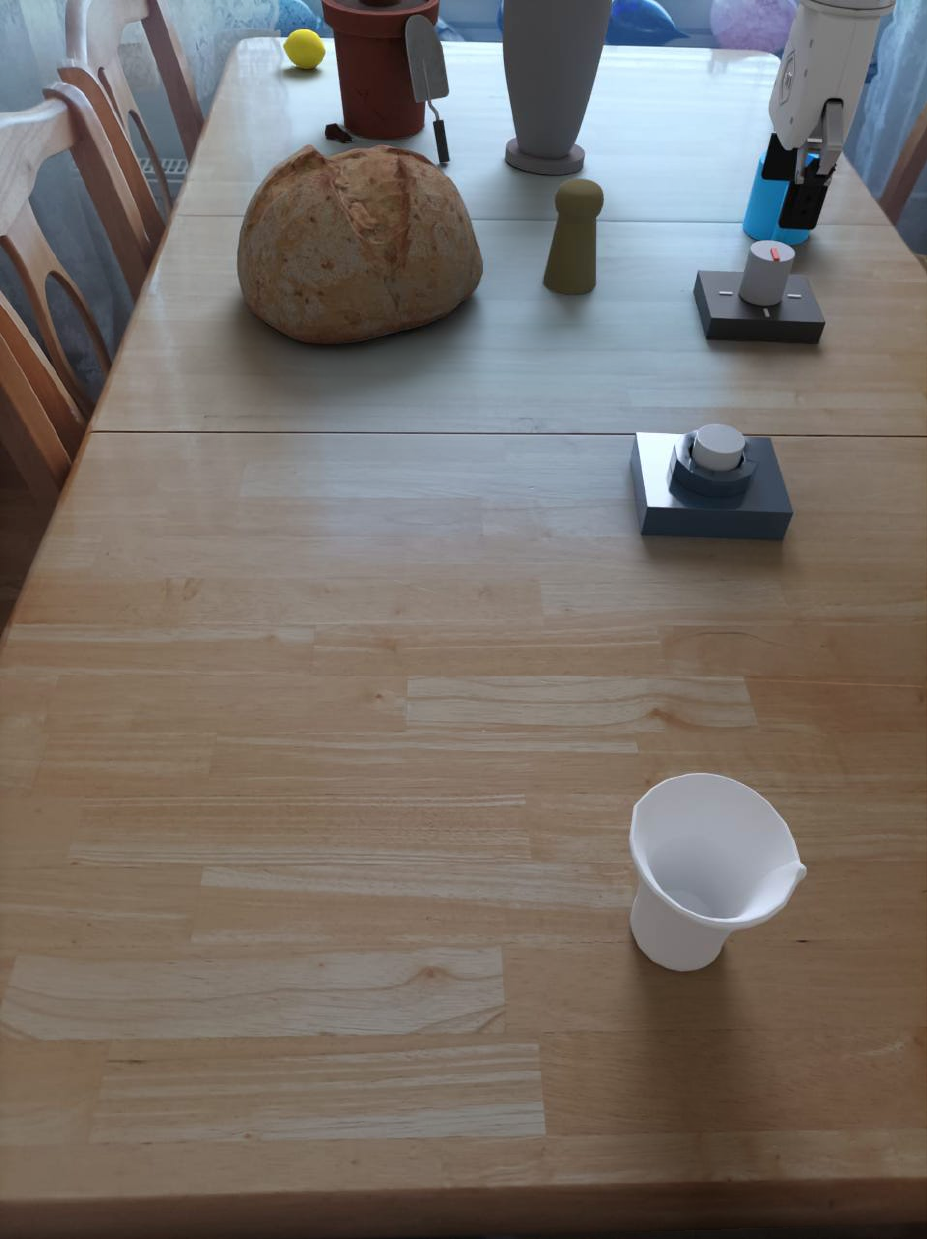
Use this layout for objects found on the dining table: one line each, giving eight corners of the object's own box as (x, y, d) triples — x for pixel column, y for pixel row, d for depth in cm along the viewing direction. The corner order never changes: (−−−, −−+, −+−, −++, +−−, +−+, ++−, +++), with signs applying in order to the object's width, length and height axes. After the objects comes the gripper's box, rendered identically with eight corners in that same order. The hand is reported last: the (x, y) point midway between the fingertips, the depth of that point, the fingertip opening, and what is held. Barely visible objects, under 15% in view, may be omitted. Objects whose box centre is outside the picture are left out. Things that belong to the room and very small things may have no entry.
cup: (743, 1024, 52) (796, 953, 45) (584, 962, 54) (609, 884, 47) (769, 887, 58) (820, 803, 50) (623, 835, 60) (652, 747, 53)
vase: (588, 144, 132) (628, -178, 106) (595, 184, 124) (640, -155, 98) (495, 141, 132) (511, -182, 106) (495, 181, 124) (513, -160, 97)
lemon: (332, 65, 150) (330, 26, 146) (320, 76, 147) (317, 37, 143) (292, 59, 151) (288, 21, 147) (278, 70, 148) (274, 32, 144)
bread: (445, 232, 114) (447, 98, 102) (512, 332, 99) (523, 190, 88) (226, 260, 107) (203, 122, 96) (264, 372, 93) (241, 224, 82)
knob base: (798, 295, 106) (805, 273, 104) (818, 343, 99) (826, 321, 97) (693, 290, 106) (698, 268, 104) (705, 339, 99) (711, 316, 97)
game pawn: (533, 274, 107) (542, 177, 99) (577, 263, 109) (590, 167, 101) (560, 299, 104) (572, 200, 96) (606, 287, 106) (621, 190, 98)
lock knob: (735, 283, 102) (747, 236, 98) (777, 285, 102) (791, 238, 98) (741, 304, 99) (754, 257, 95) (785, 307, 99) (800, 259, 95)
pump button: (735, 443, 80) (741, 424, 78) (743, 473, 77) (749, 454, 76) (688, 441, 80) (693, 422, 78) (694, 471, 77) (700, 452, 76)
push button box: (760, 465, 85) (776, 420, 82) (782, 541, 79) (800, 496, 75) (629, 460, 85) (639, 415, 82) (640, 535, 79) (651, 489, 75)
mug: (745, 210, 120) (762, 144, 114) (810, 220, 119) (830, 153, 113) (737, 253, 112) (755, 185, 106) (807, 264, 111) (829, 195, 105)
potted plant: (450, 105, 141) (454, -102, 122) (449, 166, 126) (454, -57, 108) (332, 101, 140) (317, -107, 121) (318, 162, 126) (299, -63, 107)
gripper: (782, -52, 78) (732, 160, 91) (823, 13, 66) (759, 246, 79) (873, -47, 78) (809, 164, 90) (929, 19, 66) (848, 251, 79)
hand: (786, 202), depth 85 cm, fingers open, 9 cm apart
